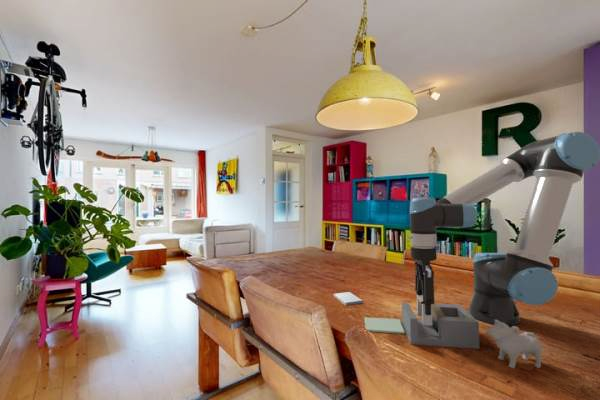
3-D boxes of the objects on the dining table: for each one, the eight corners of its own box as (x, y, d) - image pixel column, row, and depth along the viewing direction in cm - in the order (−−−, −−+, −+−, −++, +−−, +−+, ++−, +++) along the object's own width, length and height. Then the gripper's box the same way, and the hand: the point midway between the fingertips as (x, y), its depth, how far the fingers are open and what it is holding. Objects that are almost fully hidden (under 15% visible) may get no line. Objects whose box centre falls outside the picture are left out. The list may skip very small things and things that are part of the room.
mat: (399, 320, 100) (399, 319, 100) (404, 333, 90) (404, 332, 90) (364, 318, 102) (364, 317, 102) (365, 331, 92) (365, 329, 92)
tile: (442, 327, 91) (450, 322, 91) (448, 336, 86) (457, 331, 85) (418, 296, 93) (426, 291, 92) (423, 303, 87) (431, 297, 86)
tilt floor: (441, 330, 91) (445, 328, 91) (447, 338, 86) (451, 335, 86) (416, 297, 92) (420, 295, 92) (420, 303, 87) (424, 300, 87)
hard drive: (363, 300, 118) (349, 291, 130) (345, 302, 116) (333, 293, 128) (363, 304, 118) (349, 295, 130) (345, 306, 116) (333, 297, 128)
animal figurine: (482, 357, 76) (481, 317, 76) (529, 356, 76) (528, 316, 77) (496, 368, 71) (495, 326, 71) (546, 367, 71) (545, 325, 71)
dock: (460, 327, 94) (459, 304, 94) (479, 348, 80) (478, 322, 81) (401, 324, 97) (401, 302, 97) (410, 344, 84) (410, 318, 84)
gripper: (405, 242, 100) (406, 308, 100) (417, 251, 81) (419, 332, 81) (427, 242, 99) (428, 309, 98) (446, 251, 80) (447, 334, 80)
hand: (424, 319), depth 90 cm, fingers closed on tile, 6 cm apart
